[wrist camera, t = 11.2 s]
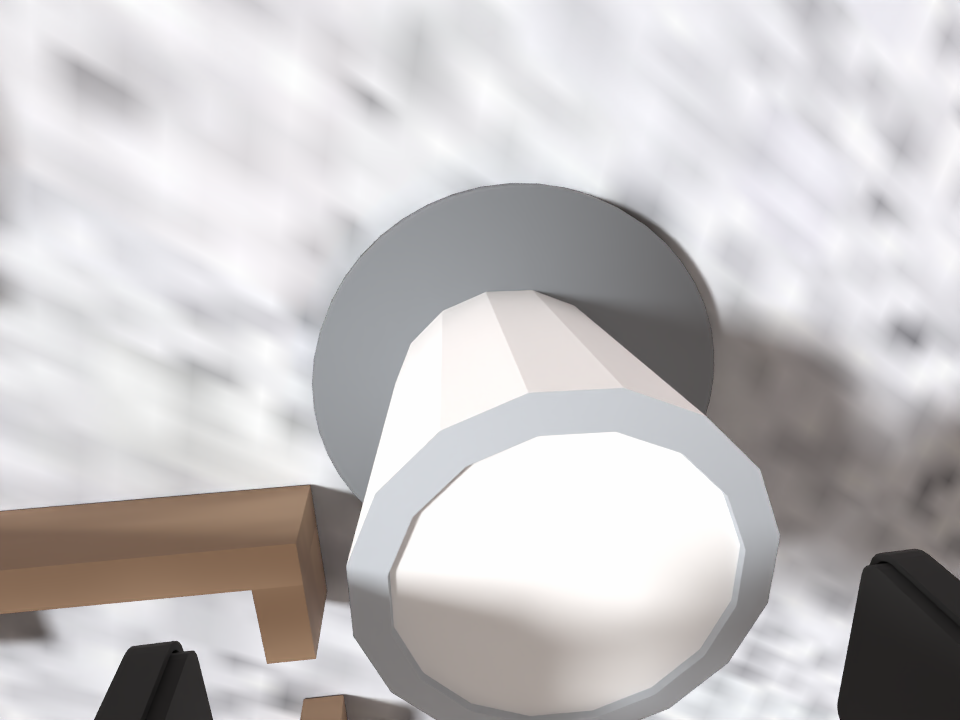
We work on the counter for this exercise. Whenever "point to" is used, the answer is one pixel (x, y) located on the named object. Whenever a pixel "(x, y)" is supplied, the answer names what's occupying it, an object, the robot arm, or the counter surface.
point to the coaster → (490, 268)
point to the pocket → (179, 561)
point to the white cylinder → (551, 525)
